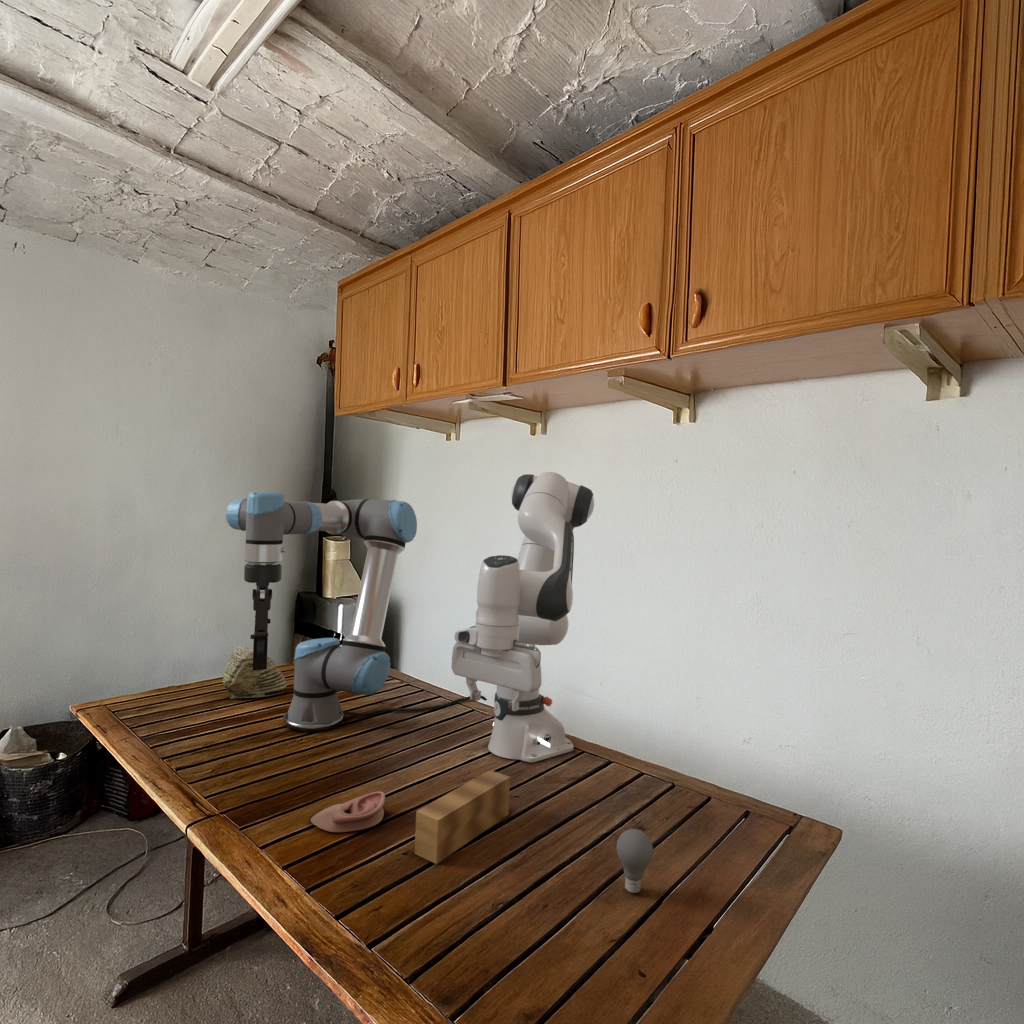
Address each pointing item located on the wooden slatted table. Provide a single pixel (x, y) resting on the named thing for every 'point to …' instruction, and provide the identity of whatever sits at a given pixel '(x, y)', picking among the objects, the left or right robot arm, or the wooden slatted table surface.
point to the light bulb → (634, 857)
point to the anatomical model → (352, 814)
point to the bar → (461, 815)
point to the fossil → (251, 676)
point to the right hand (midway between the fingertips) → (493, 704)
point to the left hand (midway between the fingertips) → (259, 661)
